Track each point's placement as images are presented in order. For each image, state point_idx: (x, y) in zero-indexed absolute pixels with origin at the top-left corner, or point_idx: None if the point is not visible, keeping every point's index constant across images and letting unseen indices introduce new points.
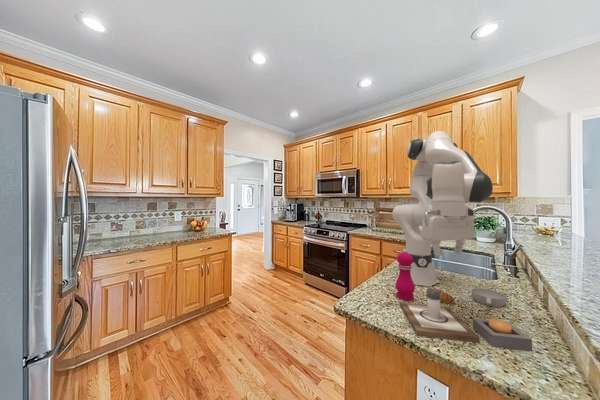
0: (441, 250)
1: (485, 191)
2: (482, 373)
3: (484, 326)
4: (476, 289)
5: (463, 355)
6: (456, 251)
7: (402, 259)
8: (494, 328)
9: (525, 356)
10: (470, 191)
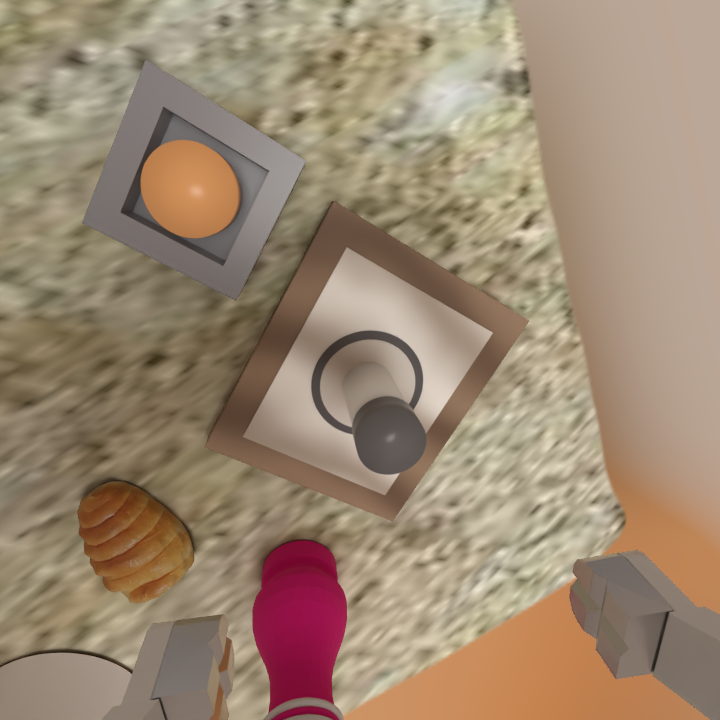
0: (643, 604)
1: None
2: (515, 71)
3: (260, 226)
4: None
5: (475, 167)
6: (219, 660)
7: None
8: (239, 190)
9: (240, 65)
10: None
